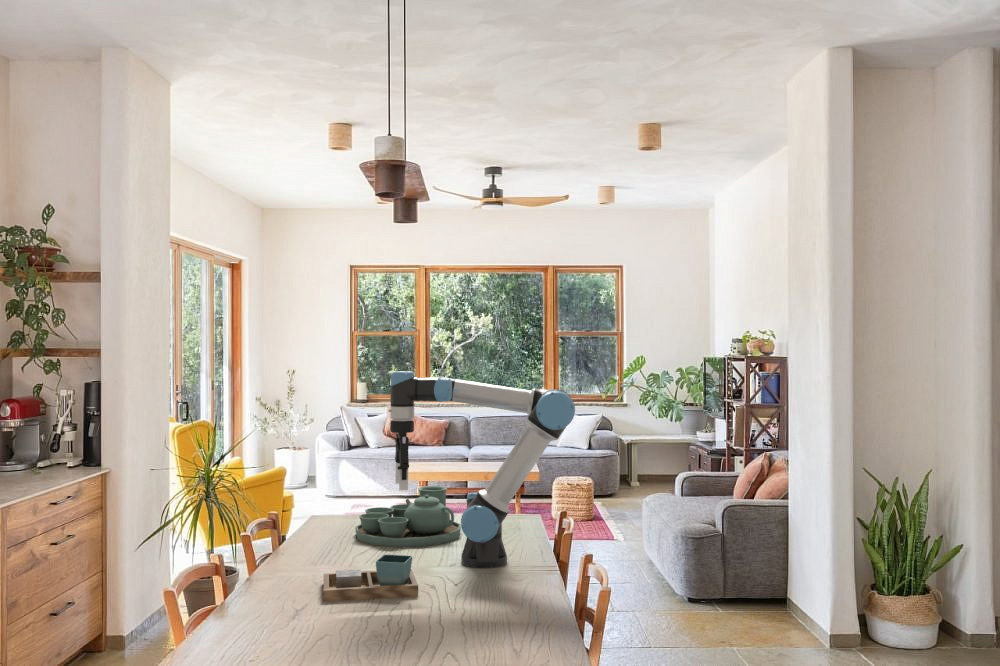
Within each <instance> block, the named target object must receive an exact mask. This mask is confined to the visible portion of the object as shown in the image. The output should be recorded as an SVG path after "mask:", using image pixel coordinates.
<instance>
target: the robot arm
mask: <svg viewBox="0 0 1000 666" xmlns="http://www.w3.org/2000/svg"><path fill="white" fill-rule="evenodd" d="M389 387H390V409H388V413H390V419H391V420H390V422H389V430H390V432H391V433H393V434H394V433H395V436H396V437H394V438H395V440H394V442H395V456H394V459H395V484H397V485H399V486H398V490H399V491H409V468H410V462H409V461H410V460H409V443H410V439H409V436H407V434H408V433H413V432H414V431H415V421H414V418H415V402H439V403H441V402H442V403H443V402H455V403H456V402H457V403H461V404H467V405H474V406H481V407H485V408H492V409H497V410H502V411H503V410H504V411H511V412H517V413H523V414H527V418H526V422H527V427H526V429H524V431H523V433H522V434H521V435H520V437H519V439H518V440H517V441H516V443H515V445H514V446H513V448H512V449H511V451H509V452H510V453H508V455H507V456H506V458H505V459H504V461H503V463H502V464H501V466H500V467H499V469H498V470H497V471H496V473H495V474H494V476H493V477H492V479H491V481H490V482H489V484H488V485H487V486H486V488H484V489H479V490H478V491H477V492H469V493H468V494H466V495H467V496H466V500H465V501H466V509H465V510H464V512H463V513H462V515H461V518H460V524H461V531H462V533H463V534H464V536H465V537H466V541H465V544H464V547H463V549H462V553H461V559H460V560H461V561H460V563H461V564H462V565H464V566H465V567H466V566H467V567H470V568H477V569H478V568H479V569H481V568H482V569H489V568H491V569H492V568H498V567H502V566H504V565H507V563H508V555H507V551H506V549H505V546H504V542H503V537H502V536H503V533H502V532H503V531H502V529H503V527H502V526H503V525H502V524H503V522H504V521H505V519H506V518H507V516H508V514H509V513H510V506H509V504H510V503H511V501H512V500H513V498H514V496H515V495H516V494H517V492H518V491H519V490H520V488H521V486H522V485H523V483H524V482H525V480H526V479H527V477H528V476H529V475H530V473H531V471H532V470H533V468H534V467H535V465H536V464H537V462H538V461H539V459H540V458H541V456H542V455H543V453H544V452H545V451H546V449H547V447H548V446H549V445H550V443H552V442H553V441H558V440H559V438H560V437H561V435H562V433H563V432H564V431H565V429H566V428H567V427H568V426H569V425H570V424H571V422H573V419H574V417H575V414H576V406H575V402H574V400H573V399H572V397H571V396H570V395H569V394H568V393H567V392H566V391H565V390H562V389H558V388H555V389H554V388H553V389H552V388H551V389H546V388H545V389H542V388H532V389H530V390H528V389H521V388H517V387H516V388H515V387H509V386H502V385H498V384H490V383H485V382H484V383H483V382H476V381H471V380H465V379H464V380H463V379H458V378H451V377H446V376H442V375H438V376H434V377H416V376H415V372H414V371H408V370H406V371H404V370H401V371H400V370H399V371H398V370H397V371H393V372H392V373H391V375H390V385H389Z"/></svg>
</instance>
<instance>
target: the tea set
mask: <svg viewBox="0 0 1000 666" xmlns="http://www.w3.org/2000/svg"><path fill="white" fill-rule="evenodd" d="M417 489H418V492H419V497H416V498H414V501H413V502H411V500H410V499H409V498H407V499H405V503H406V504H405V503H401V504H394V505H391V506H390V507H385V506H384V507H380V506H378V507H370V508H367V509H365V510H364V512H365V513H362V514H360V515H359V516H358V518H359V520H360V524H358V525H356V526H355V533H356V537H357V539H358V541H360V542H363V543H367V544H370V545H373V546H382V547H392V548H410V547H411V548H414V547H415V548H416V547H427V546H434V545H441V544H446V543H448V542H451V541H453V540H455V539H456V540H457V539H458V538H459V537H460V533H461V531H462V527H461V523H459V522H456V521H455V514H454V511H453V510H452V509H451V507H449V506H447V490H448V487H447V486H442V485H427V486H426V485H425V486H424V485H423V486H419V487H418V488H417Z"/></svg>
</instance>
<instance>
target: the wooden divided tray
mask: <svg viewBox="0 0 1000 666" xmlns="http://www.w3.org/2000/svg"><path fill="white" fill-rule="evenodd" d="M361 576H362V579H361V587H351V588H336V572H323V597H322V598H323V602H324V603H325V602H339V601H340V602H341V601H358V600H377V599H396V598H397V599H398V598H411V597H413V598H414V597H419V584H418V582H417V579H416V576H415V574H414V572H413V569H412V568H411V571H410V575H409V578H408V581H407V583H406V585H388V586H380V585H379V582H378V579H377V571H376V570H364V571H361Z"/></svg>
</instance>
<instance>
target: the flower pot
mask: <svg viewBox="0 0 1000 666" xmlns="http://www.w3.org/2000/svg"><path fill="white" fill-rule="evenodd" d="M412 562H413V555H404V554H403V555H401V554H383V555H382V556H380V558H378V559H377V560H376V561H375V569H376V570H375V571H377V579H378V582H379V585H380V586H388V585H406V583H407V581H408V578H409V575H410V571H411V569H412Z"/></svg>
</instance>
